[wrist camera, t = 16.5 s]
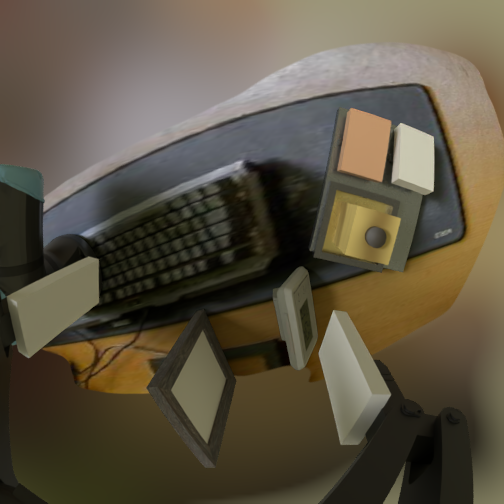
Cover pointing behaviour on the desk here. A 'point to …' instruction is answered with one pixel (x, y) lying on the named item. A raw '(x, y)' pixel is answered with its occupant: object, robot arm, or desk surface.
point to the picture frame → (196, 389)
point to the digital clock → (296, 317)
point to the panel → (362, 205)
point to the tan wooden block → (366, 233)
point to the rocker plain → (413, 159)
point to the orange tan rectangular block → (364, 145)
